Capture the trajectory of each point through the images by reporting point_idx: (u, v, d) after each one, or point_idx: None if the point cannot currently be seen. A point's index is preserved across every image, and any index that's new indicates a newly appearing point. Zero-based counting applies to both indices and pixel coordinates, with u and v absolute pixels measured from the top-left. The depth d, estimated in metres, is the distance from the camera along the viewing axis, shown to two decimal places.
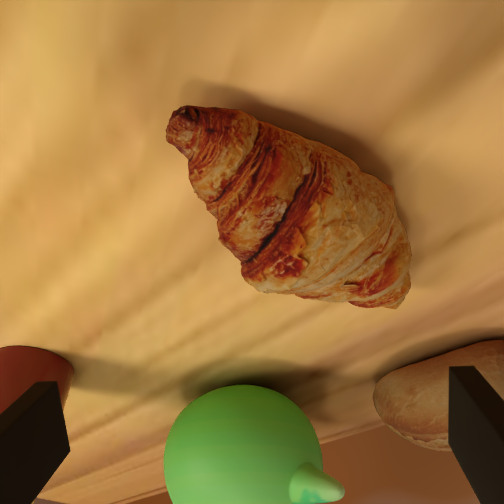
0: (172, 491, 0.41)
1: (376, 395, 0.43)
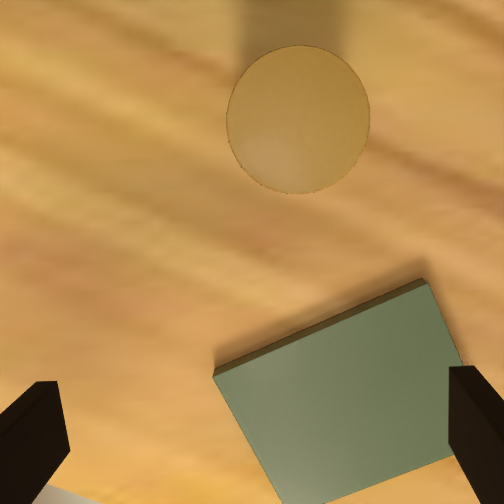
0: None
1: None
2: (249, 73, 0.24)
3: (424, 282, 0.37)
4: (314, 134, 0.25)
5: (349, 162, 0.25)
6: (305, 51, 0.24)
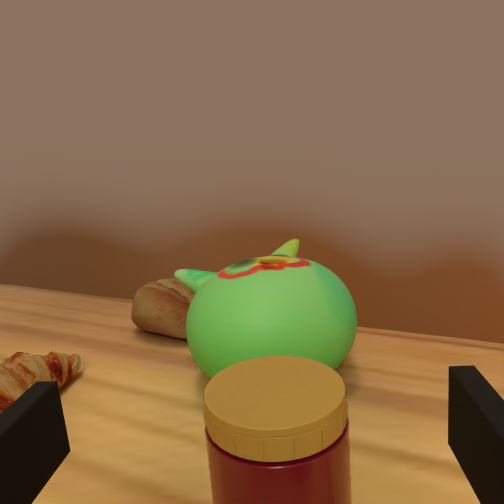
0: (254, 314, 0.40)
1: None
2: (231, 367, 0.28)
3: None
4: (289, 391, 0.24)
5: (330, 406, 0.23)
6: (279, 357, 0.28)
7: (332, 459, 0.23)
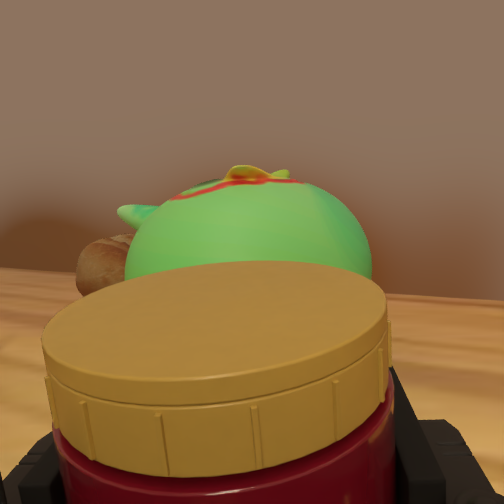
0: (218, 242, 0.26)
1: None
2: (141, 278, 0.13)
3: None
4: (253, 305, 0.10)
5: (353, 325, 0.09)
6: (241, 262, 0.14)
7: (360, 468, 0.08)
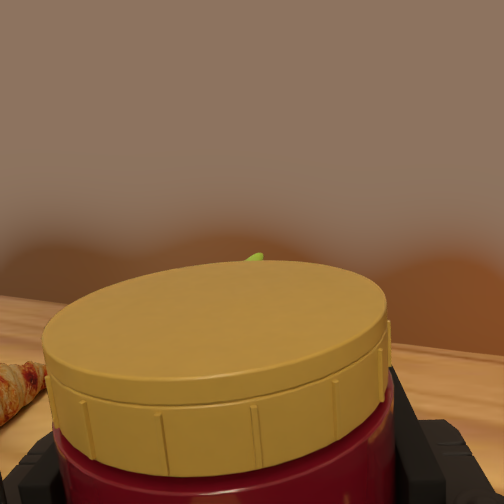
0: None
1: None
2: (141, 278, 0.13)
3: None
4: (253, 305, 0.10)
5: (353, 325, 0.09)
6: (241, 262, 0.14)
7: (360, 467, 0.08)
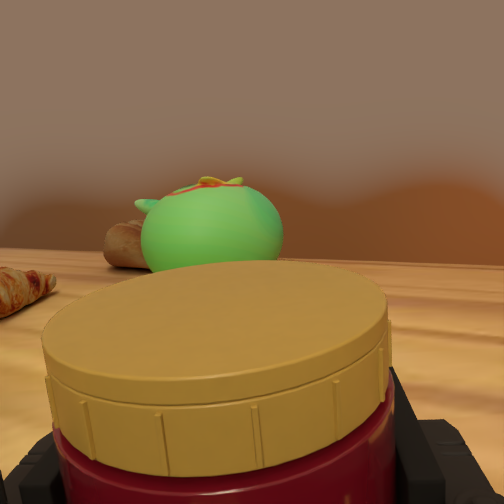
0: (191, 217, 0.50)
1: None
2: (141, 277, 0.13)
3: None
4: (253, 305, 0.10)
5: (353, 325, 0.09)
6: (241, 262, 0.14)
7: (360, 467, 0.08)
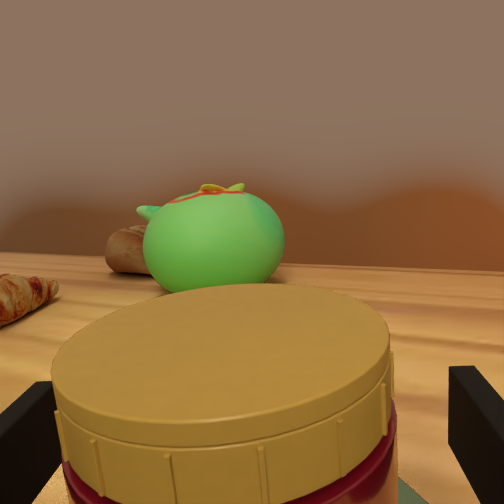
0: (193, 225, 0.50)
1: None
2: (146, 302, 0.14)
3: None
4: (258, 336, 0.10)
5: (357, 361, 0.09)
6: (245, 285, 0.14)
7: (364, 502, 0.09)
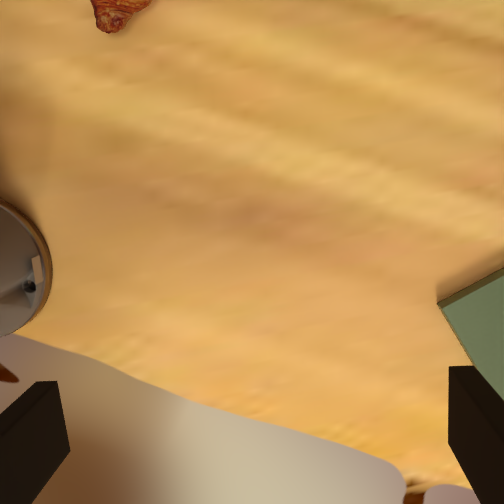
0: None
1: None
2: None
3: None
4: None
5: None
6: None
7: None
